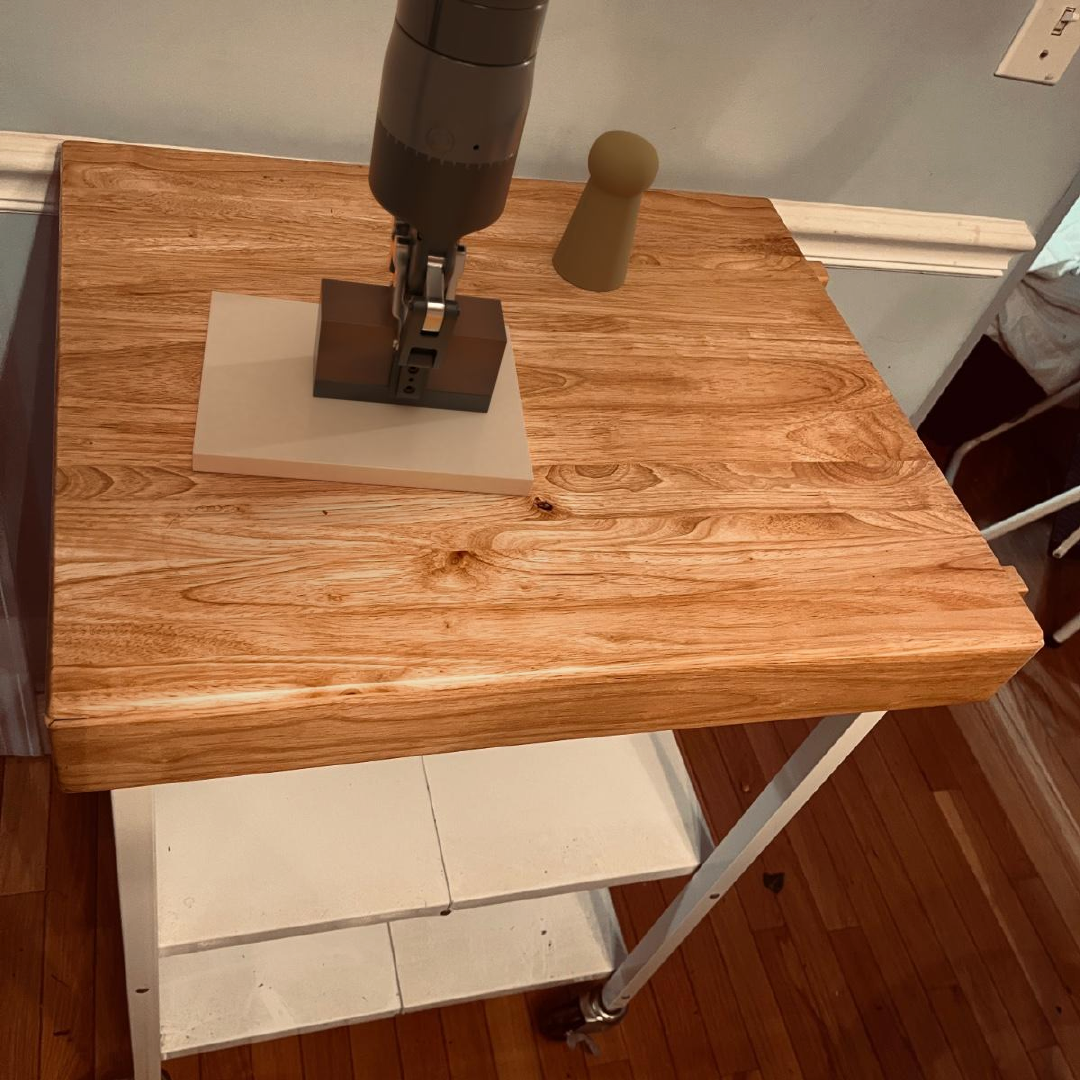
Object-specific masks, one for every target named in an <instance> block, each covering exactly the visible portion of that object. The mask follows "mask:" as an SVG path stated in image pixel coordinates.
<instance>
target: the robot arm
mask: <svg viewBox="0 0 1080 1080" xmlns="http://www.w3.org/2000/svg"><path fill="white" fill-rule="evenodd" d="M549 4H550V0H397V2H396V10H395V14H394V20H393V25H392V29H391V31H390V32H391V33H390V36H389V39H388V43H387V46H386V50H385V53H384V59H383V65H382V71H381V79H380V85H379V86H380V87H379V94H378V102H377V107H376V117H375V123H374V130H373V138H372V145H371V153H370V161H369V167H368V179H367V180H368V187H369V190H370V192H371V195H372V196H373V198H374V199H375V201H376V202H377V203H378V205H379V206H380V207H381V208H382V209H383V210H384V211H386V212H387V213H389V214H390V215H391V219H390V221H391V225H390V226H391V227H390V229H391V230H390V234H391V235H390V236H391V237H390V239H391V242H390V245H389V251H388V270H389V273H391V274H392V277H391V280H389V283H388V286H391V287H393V291H392V298H391V306H392V312H393V315H394V316H395V317H396V318H397V319H398V320H397V328H396V335H395V339H393V347H394V354H393V360H392V366H391V372H390V377H389V383H388V394H389V396H390V397H391V398H393V399H400V400H411V401H419V400H421V399H423V397H424V395H425V390H426V385H427V381H428V376H429V371H430V369H440V368H441V365H442V364H443V360H444V356H445V353H446V350H447V348H448V345H449V342H450V339H451V336H452V333H453V330H454V327H455V325H456V322H457V318H458V317H459V315H460V308H459V305H458V301H456V300H455V294H456V295H457V293H456V292H457V287H458V282H459V281H458V280H459V279H460V278H461V277H462V276H463V274H464V272H465V266H466V259H467V244H466V243H461V239H462V238H464V237H465V236H468V235H470V234H473V233H476V232H480V231H482V230H484V229H485V230H486V229H487V228H489V227H490V226H492V225H494V224H495V223H496V222H497V221H498V220H499V219H500V218H501V216H502V215H503V213H504V210H505V208H506V203H507V200H508V195H509V191H510V188H511V183H512V179H513V175H514V170H515V167H516V162H517V158H518V154H519V151H520V147H521V141H522V137H523V133H524V129H525V125H526V122H527V117H528V113H529V108H530V105H531V100H532V95H533V86H534V77H535V67H536V60H537V54H538V48H539V46H540V42H541V38H542V33H543V29H544V25H545V20H546V15H547V13H548V9H549ZM404 289H405V293H406V294H410V295H412V298H411V300H410V299H406V298H405V297H403V295H404Z"/></svg>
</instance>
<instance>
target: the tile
mask: <svg viewBox="0 0 1080 1080" xmlns="http://www.w3.org/2000/svg"><path fill="white" fill-rule="evenodd" d="M318 308H319V302H311V301H303V300H295V299H285V298H278V297H277V298H276V297H269V296H268V297H267V296H260V295H251V294H244V293H243V294H242V293H235V292H227V291H216V290H212V291H211V296H210V304H209V313H208V321H207V327H206V328H207V329H206V337H205V345H204V354H203V363H202V370H201V379H200V387H199V394H198V404H197V412H196V420H195V429H194V436H193V444H192V453H191V455H192V456H191V457H192V458H191V459H192V460H191V461H192V462H191V463H192V471H193V472H202V473H203V472H204V473H215V474H216V473H217V474H228V475H229V474H230V475H243V476H244V475H245V476H255V477H267V478H268V477H269V478H270V477H271V478H283V479H298V480H310V481H324V482H335V483H349V484H364V485H376V486H389V487H404V488H414V489H415V488H416V489H430V490H443V491H454V492H455V491H457V492H466V493H467V492H470V493H482V494H495V495H496V494H497V495H510V496H521V497H529V496H530V493H531V490H532V487H533V485H534V481H535V478H534V471H533V466H532V461H531V460H532V459H531V454H530V447H529V441H528V433H527V430H526V423H525V422H526V421H525V417H524V411H523V410H524V409H523V405H522V404H523V403H522V397H521V392H520V386H519V380H518V374H517V367H516V362H515V355H514V349H513V344H512V336H511V331H510V330H511V329H510V326H509V325H507V324H505V329H506V335H507V344H506V348H505V352H504V355H503V359H502V362H501V366H500V370H499V373H498V377H497V381H496V384H495V388H494V391H493V395H492V399H491V402H490V406H489V409H488V413H479V412H468V411H458V410H447V409H436V408H426V407H415V406H404V405H394V404H383V403H372V402H362V401H351V400H340V399H330V398H319V397H313V354H314V345H315V335H316V326H317V317H318Z"/></svg>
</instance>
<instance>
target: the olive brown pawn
mask: <svg viewBox="0 0 1080 1080" xmlns="http://www.w3.org/2000/svg"><path fill="white" fill-rule="evenodd" d="M659 168H660V160H659V155H658V151H657V149H656V148H655V146H654V145H653V144H652V143H651V142H650V141H648V140H647V139H646V138H644V137H643V136H641V135H639V134H637V133H635V132H631V131H626V130H620V129H619V130H617V129H614V130H609V131H605V132H603V133H602V134H600V135H599V136H598V137H597V138H596V139H595V141H593V143H592V145H591V147H590V149H589V152H588V156H587V169H588V173H589V175H590V176H589V177H588V180H587V182H586V185H585V186H584V188H583V191H582V193H581V195H580V197H579V199H578V202H577V204H576V206H575V208H574V210H573V212H572V214H571V217H570V219H569V221H568V223H567V225H566V228H565V230H564V232H563V233H562V236H561V239H560V241H559V243H558V245H557V247H556V249H555V252H554V254H553V256H552V264H553V265H552V266H553V268H554V269H555V270H556V272H557V274H558V275H560V276H561V277H562V278H563V279H564V280H565V281H567V282H568V283H570V284H572V285H574V286H575V287H578V288H581V289H584V290H586V291H594V292H598V293H599V292H611V291H614V290H617V289H619V288H621V286H623V285H624V283H625V281H626V277H627V272H628V267H629V263H630V259H631V254H632V253H631V252H632V248H633V243H634V238H635V233H636V228H637V223H638V219H639V212H640V209H641V203H642V198H643V193H645V192H646V191H647V190H649V189H650V188H651V186H652V185H653V183H654V182H655V179H656V177H657V174H658V172H659Z"/></svg>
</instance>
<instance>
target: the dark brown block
mask: <svg viewBox="0 0 1080 1080" xmlns="http://www.w3.org/2000/svg"><path fill="white" fill-rule="evenodd" d="M392 291H393V287H391V286H389V285H382V284H374V283H365V282H357V281H349V280H341V279H340V280H339V279H333V278H325V277H322V278H321V281H320V290H319V297H318V299H319V300H318V303H319V308H318V317H317V326H316V335H315V345H314V354H313V397H319V398H330V399H340V400H351V401H362V402H372V403H383V404H394V405H404V406H415V407H426V408H436V409H447V410H458V411H468V412H479V413H488V409H489V406H490V402H491V399H492V395H493V391H494V388H495V384H496V381H497V377H498V373H499V370H500V366H501V362H502V359H503V355H504V352H505V348H506V344H507V335H506V329H505V325H506V324H505V318H504V311H503V305H502V300H501V299H496V298H488V297H481V296H480V297H479V296H472V295H464V294H463V295H462V294H457V293H456V294H455V300H456V301H458V305H459V308H460V315H459V317H458V318H457V322H456V325H455V327H454V330H453V333H452V336H451V339H450V342H449V345H448V348H447V350H446V353H445V356H444V360H443V364H442V365H441V368H440V369H430V371H429V376H428V381H427V385H426V390H425V395H424V397H423V399H421V400H419V401H411V400H400V399H393V398H391V397H390V396H389V394H388V383H389V377H390V372H391V366H392V360H393V354H394V347H393V339H395V335H396V328H397V320H398V319H397V318H396V317H395V316H394V315H393V312H392V306H391V298H392ZM403 297H405V298H406V299H410V300H411V298H412V295H410V294H406V293H405V289H404V295H403Z"/></svg>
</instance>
